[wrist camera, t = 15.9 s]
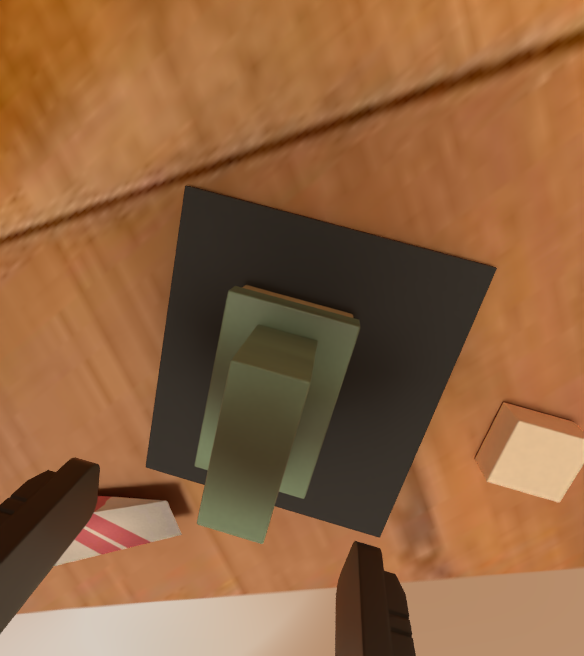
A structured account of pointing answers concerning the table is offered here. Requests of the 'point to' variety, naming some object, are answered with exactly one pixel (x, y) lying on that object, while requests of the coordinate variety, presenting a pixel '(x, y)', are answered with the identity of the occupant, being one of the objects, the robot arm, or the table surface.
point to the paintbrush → (121, 527)
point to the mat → (367, 357)
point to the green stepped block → (268, 405)
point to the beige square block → (532, 452)
